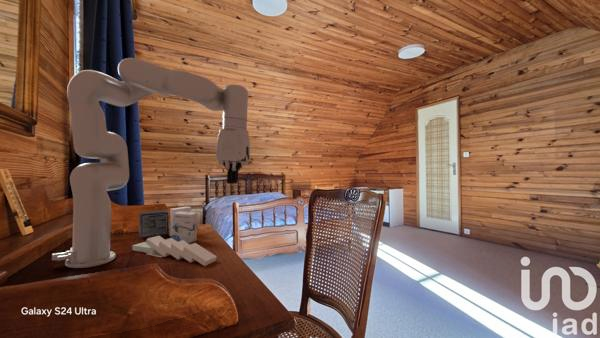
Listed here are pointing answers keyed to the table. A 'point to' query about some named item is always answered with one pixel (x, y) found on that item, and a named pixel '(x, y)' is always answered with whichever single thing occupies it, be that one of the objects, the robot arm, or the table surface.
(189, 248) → the tile
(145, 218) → the small box
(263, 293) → the table surface
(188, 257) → the tile
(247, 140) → the robot arm
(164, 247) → the tile
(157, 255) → the end pad
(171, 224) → the base with upright slab
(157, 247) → the tile
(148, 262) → the table surface
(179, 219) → the ink box
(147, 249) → the tile
